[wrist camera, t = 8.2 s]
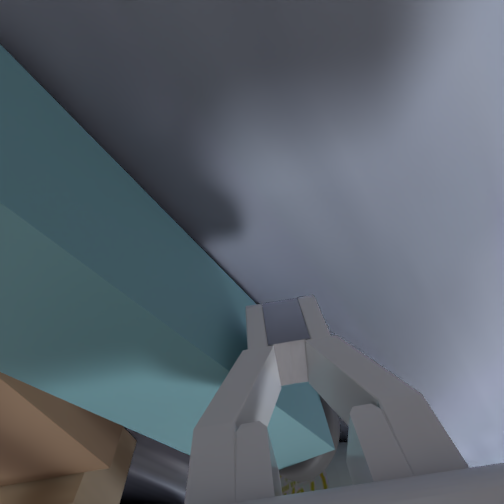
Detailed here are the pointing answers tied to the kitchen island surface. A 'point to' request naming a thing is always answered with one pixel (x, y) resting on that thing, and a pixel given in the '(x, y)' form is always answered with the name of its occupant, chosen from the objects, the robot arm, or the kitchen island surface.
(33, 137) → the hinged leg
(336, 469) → the air freshener
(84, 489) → the tan box with knobs
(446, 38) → the kitchen island surface
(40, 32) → the kitchen island surface
